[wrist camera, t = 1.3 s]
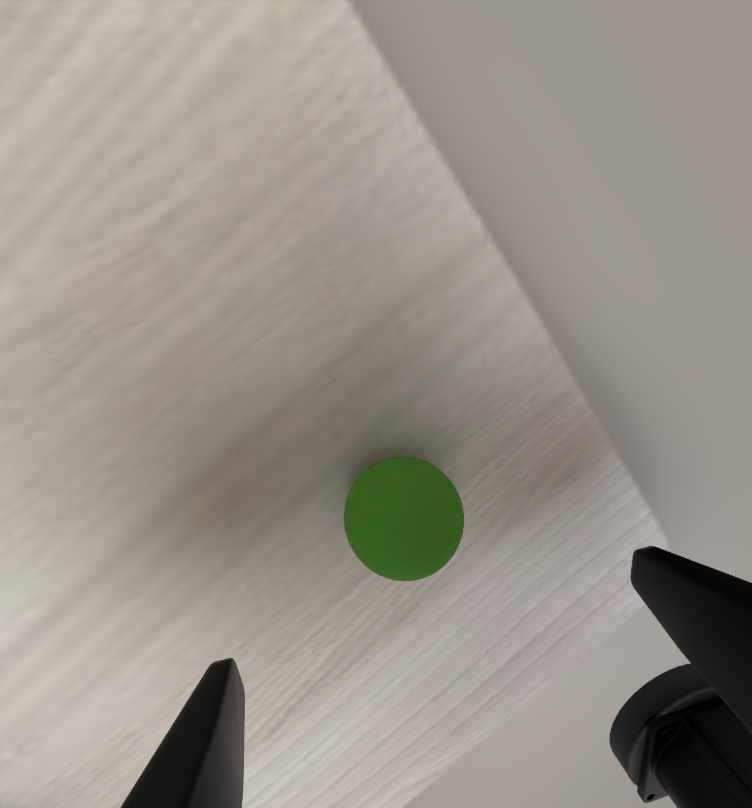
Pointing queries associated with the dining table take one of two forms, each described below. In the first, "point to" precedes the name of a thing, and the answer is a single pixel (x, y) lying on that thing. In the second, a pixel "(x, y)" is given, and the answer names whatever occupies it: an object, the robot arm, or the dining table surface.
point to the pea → (403, 518)
